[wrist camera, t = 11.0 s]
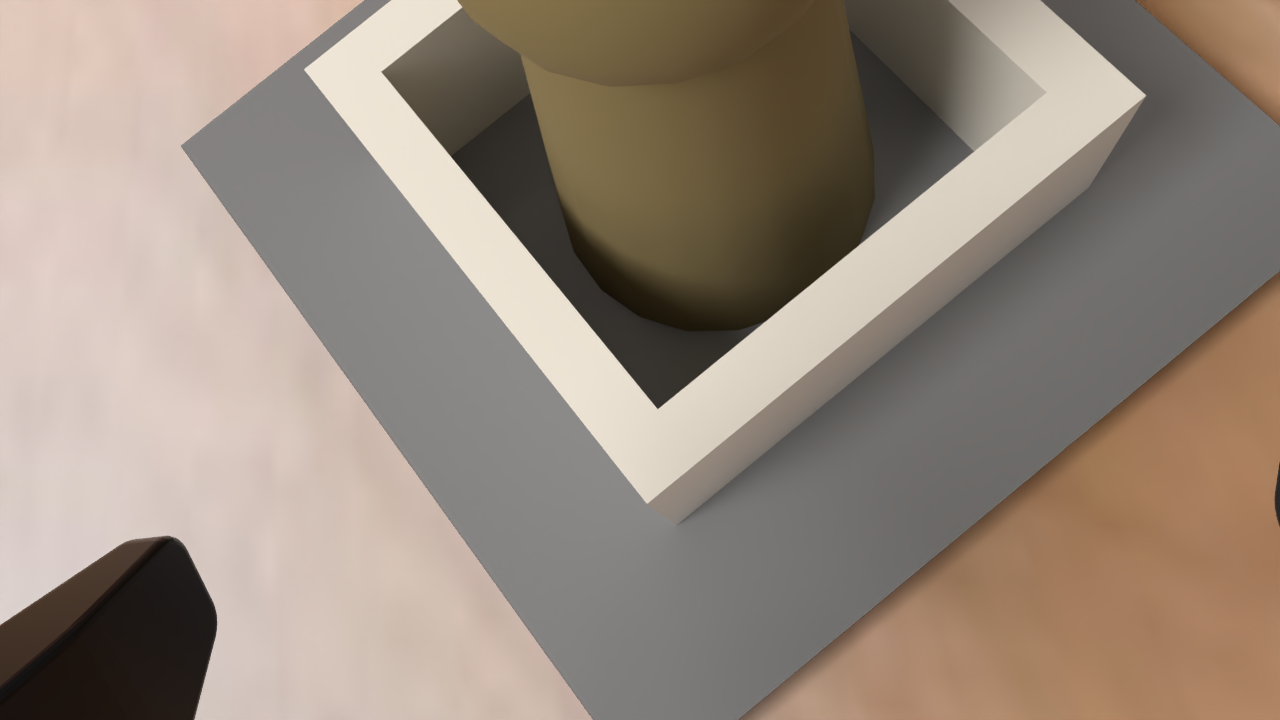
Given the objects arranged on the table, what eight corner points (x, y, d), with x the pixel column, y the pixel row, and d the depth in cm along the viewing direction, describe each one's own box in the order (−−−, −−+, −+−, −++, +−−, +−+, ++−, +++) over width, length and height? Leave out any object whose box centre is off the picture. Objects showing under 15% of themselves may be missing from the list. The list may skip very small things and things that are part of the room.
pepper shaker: (578, 356, 20) (313, 61, 10) (544, 70, 22) (285, -456, 11) (903, 302, 19) (1006, -82, 9) (845, 9, 21) (872, -615, 10)
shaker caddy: (655, 786, 19) (609, 833, 15) (206, 165, 24) (70, 61, 19) (1337, 221, 20) (1485, 105, 15) (769, -282, 24) (759, -480, 20)
